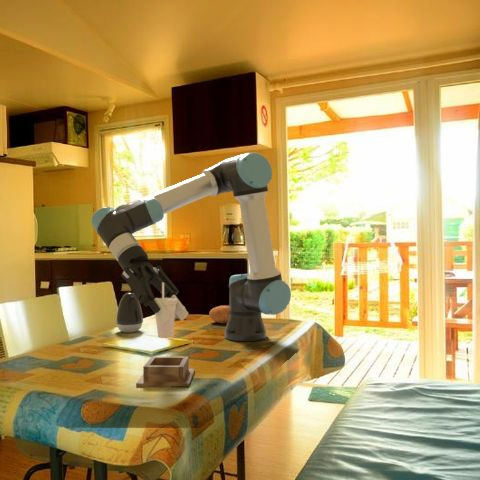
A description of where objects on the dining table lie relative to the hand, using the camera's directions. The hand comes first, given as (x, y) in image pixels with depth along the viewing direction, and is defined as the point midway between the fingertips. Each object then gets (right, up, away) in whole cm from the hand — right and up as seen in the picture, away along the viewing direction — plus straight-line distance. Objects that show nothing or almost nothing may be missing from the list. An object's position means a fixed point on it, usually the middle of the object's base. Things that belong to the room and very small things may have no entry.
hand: (176, 318), depth 120 cm
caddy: (-3, -16, +2) cm, 16 cm away
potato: (+9, -15, +80) cm, 82 cm away
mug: (-13, -15, +91) cm, 94 cm away
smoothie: (-3, -5, +2) cm, 6 cm away
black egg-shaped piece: (-27, -16, +63) cm, 70 cm away
